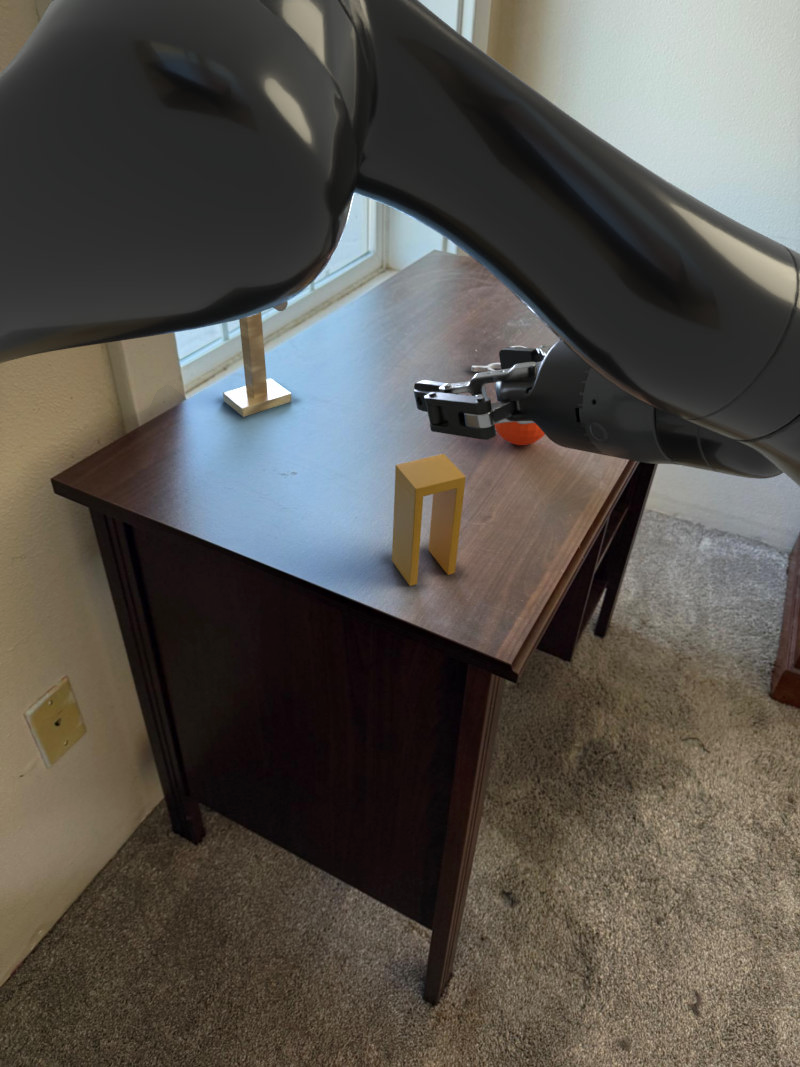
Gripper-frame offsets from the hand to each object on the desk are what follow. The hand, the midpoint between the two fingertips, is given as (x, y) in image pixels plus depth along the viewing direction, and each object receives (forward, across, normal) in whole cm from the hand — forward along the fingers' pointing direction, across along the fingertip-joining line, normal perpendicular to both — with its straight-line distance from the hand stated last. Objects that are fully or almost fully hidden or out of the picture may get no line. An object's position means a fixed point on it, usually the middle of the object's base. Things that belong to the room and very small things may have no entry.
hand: (462, 377), depth 58 cm
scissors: (+29, -37, +14) cm, 49 cm away
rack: (+41, 0, +7) cm, 42 cm away
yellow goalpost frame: (+8, +2, +18) cm, 20 cm away
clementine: (+20, -21, +16) cm, 33 cm away
